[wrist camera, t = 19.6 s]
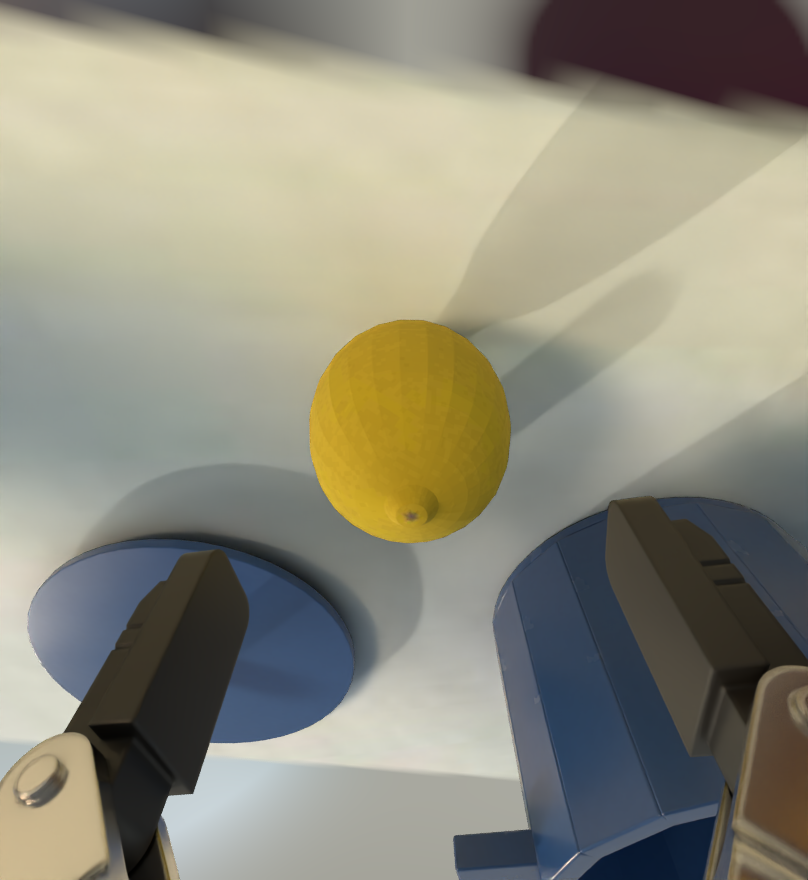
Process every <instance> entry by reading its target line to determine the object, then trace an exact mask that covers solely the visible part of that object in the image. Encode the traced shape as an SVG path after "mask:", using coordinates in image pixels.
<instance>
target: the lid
mask: <svg viewBox="0 0 808 880" xmlns="http://www.w3.org/2000/svg"><path fill="white" fill-rule="evenodd" d="M215 549H221V550H222V551H224V552H225V554H226V555H227V557H228V559H229V561H230V563H231V565H232V567H233V569H234V571H235V573H236V575H237V577H238V580H239V582H240V584H241V586H242V588H243V590H244V592H245V594H246V596H247V599H248V603H249V623H248V627H247V630H246V633H245V636H244V639H243V643H242V646H241V649H240V652H239V655H238V658H237V661H236V664H235V667H234V670H233V673H232V676H231V679H230V682H229V685H228V688H227V691H226V695H225V698H224V701H223V704H222V707H221V710H220V713H219V716H218V719H217V722H216V725H215V728H214V731H213V734H212V737H211V740H210V743H243V742H254V741H261V740H268V739H272V738H277V737H281V736H285V735H288V734H291V733H294V732H297V731H300V730H302V729H304V728H307V727H309V726H311V725H313V724H314V723H316V722H318V721H320V720H321V719H323V718H324V717H325V716H327V715H328V714H329V713H331V712H332V711H333V710H334V709H335V708H336V707H337V706H338V705H339V704H340V702H341V701H342V700H343V698H344V696H345V695H346V693H347V692H348V690H349V687H350V685H351V682H352V678H353V672H354V664H355V657H354V647H353V643H352V640H351V636H350V634H349V632H348V630H347V627H346V625H345V623H344V622H343V620H342V619H341V617H340V616H339V614H338V613H337V612H336V610H335V609H334V608H333V607H332V606H331V605H330V604H329V603H328V601H327V600H326V599H325V598H324V597H323V596H322V595H320V594H319V593H318V592H317V591H316V590H314V589H313V588H312V587H311V586H309V585H308V584H307V583H305V582H304V581H302V580H301V579H299V578H298V577H296V576H294V575H293V574H291V573H290V572H288V571H286V570H284V569H282V568H280V567H278V566H276V565H274V564H272V563H270V562H268V561H265V560H263V559H260V558H258V557H255V556H253V555H250V554H247V553H244V552H241V551H237V550H234V549H230V548H227V547H223V546H218V545H213V544H208V543H203V542H196V541H187V540H177V539H145V540H134V541H125V542H120V543H115V544H110V545H105V546H102V547H99V548H96V549H93V550H90V551H87V552H85V553H83V554H81V555H79V556H77V557H75V558H73V559H71V560H69V561H68V562H66V563H65V564H64V565H62V566H61V567H59V568H58V569H57V570H55V571H54V572H53V573H52V574H51V576H50V577H49V578H48V579H47V580H46V581H45V582H44V583H43V585H42V586H41V587H40V588H39V590H38V592H37V593H36V595H35V597H34V598H33V600H32V603H31V606H30V609H29V613H28V626H27V628H28V634H29V639H30V643H31V645H32V648H33V650H34V653H35V655H36V656H37V658H38V660H39V661H40V663H41V664H42V666H43V667H44V669H45V670H46V671H47V672H48V673H49V675H50V676H51V677H52V678H53V679H54V680H55V681H56V682H57V683H58V684H59V685H60V686H61V687H62V688H63V689H65V690H66V691H67V692H68V693H70V694H71V695H72V696H74V697H75V698H76V699H78V700H79V701H81V702H82V701H83V699H84V697H85V695H86V694H87V692H88V690H89V688H90V687H91V685H92V683H93V682H94V680H95V678H96V676H97V675H98V673H99V671H100V669H101V668H102V666H103V664H104V663H105V661H106V659H107V657H108V656H109V654H110V652H111V650H114V649H115V644H116V642H117V640H118V638H119V637H120V635H121V633H122V631H123V630H126V625H127V623H128V621H129V619H130V618H131V616H132V614H133V612H134V611H135V609H136V607H137V606H138V604H139V602H140V601H141V600H142V599H143V598H144V597H145V596H146V595H147V594H148V593H149V592H150V591H151V590H152V589H153V588H154V587H155V586H156V585H157V584H158V583H159V582H160V581H166V580H167V579H168V577H169V575H170V573H171V572H172V570H173V568H174V566H175V564H176V562H177V561H178V559H179V558H180V556H181V555H183V554H185V553H191V552H199V551H207V550H215Z"/></svg>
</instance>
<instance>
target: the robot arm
mask: <svg viewBox="0 0 808 880" xmlns="http://www.w3.org/2000/svg"><path fill="white" fill-rule="evenodd" d="M605 562H606V569H607V574H608V578H609V581H610V584H611V586H612V589H613V591H614V593H615V595H616V598H617V600H618V602H619V604H620V606H621V608H622V611H623V613H624V615H625V617H626V619H627V621H628V624H629V626H630V628H631V630H632V632H633V634H634V637H635V639H636V641H637V643H638V645H639V648H640V650H641V652H642V654H643V656H644V658H645V661H646V663H647V665H648V667H649V669H650V671H651V674H652V676H653V678H654V680H655V682H656V684H657V687H658V689H659V691H660V693H661V695H662V697H663V700H664V702H665V704H666V706H667V708H668V711H669V713H670V715H671V717H672V719H673V721H674V724H675V726H676V728H677V730H678V732H679V734H680V737H681V739H682V741H683V743H684V745H685V747H686V750H687V752H688V754H689V756H690V757H701V756H714V758H715V760H716V762H717V764H718V766H719V768H720V770H721V772H722V774H723V776H724V778H725V779H724V782H723V785H722V790H721V795H720V800H719V804H718V809H717V814H716V819H715V824H714V829H713V834H712V839H711V844H710V848H709V853H708V858H707V863H706V868H705V873H704V878H703V880H808V659H807V658H806V657H805V655H804V654H803V653H802V651H801V650H800V649H799V648H798V646H797V645H796V644H795V642H794V641H793V640H792V639H791V637H790V636H789V635H788V633H787V632H786V631H785V630H784V628H783V627H782V626H781V624H780V623H779V622H778V620H777V619H776V618H775V617H774V615H773V614H772V613H771V611H770V610H769V609H768V608H767V606H766V605H765V604H764V602H763V601H762V600H761V599H760V597H759V596H758V595H757V593H756V592H755V591H754V589H753V588H752V587H751V586H750V584H749V583H746V582H745V580H744V577H743V575H742V574H741V573H740V571H739V570H738V569H737V567H736V566H735V565H734V564H733V563H732V564H731V562H730V558H729V557H728V556H727V555H726V553H725V552H724V551H723V549H722V548H721V547H720V546H719V544H718V543H717V542H716V540H715V539H714V538H713V536H711V535H710V534H708V533H707V532H705V531H704V530H702V529H701V528H699V527H698V526H696V525H695V524H693V523H692V522H690V521H689V520H687V519H680V520H672V521H671V520H670V519H669V517H668V516H667V514H666V513H665V512H664V510H663V509H662V507H661V506H660V504H659V503H658V502H657V500H656V499H655V498H654V497H652V496H644V497H636V498H628V499H620V500H612V501H611V502H610V503H609V506H608V519H607V535H606V551H605ZM248 623H249V603H248V599H247V596H246V594H245V592H244V590H243V588H242V586H241V584H240V582H239V580H238V577H237V575H236V573H235V571H234V569H233V567H232V565H231V563H230V561H229V559H228V557H227V555H226V554H225V552H224V551H222V550H221V549H215V550H207V551H199V552H191V553H185V554H183V555H181V556H180V558H179V559H178V561H177V562H176V564H175V566H174V568H173V570H172V572H171V573H170V575H169V577H168V579H167V580H166V581H160V582H159V583H158V584H157V585H156V586H155V587H154V588H153V589H152V590H151V591H150V592H149V593H148V594H147V595H146V596H145V597H144V598H143V599H142V600H141V601H140V602H139V604H138V606H137V607H136V609H135V611H134V612H133V614H132V616H131V618H130V619H129V621H128V623H127V625H126V630H123V631H122V633H121V635H120V637H119V638H118V640H117V642H116V644H115V649H114V650H111V652H110V654H109V656H108V657H107V659H106V661H105V663H104V664H103V666H102V668H101V669H100V671H99V673H98V675H97V676H96V678H95V680H94V682H93V683H92V685H91V687H90V688H89V690H88V692H87V694H86V695H85V697H84V699H83V701H82V702H81V704H80V706H79V707H78V709H77V711H76V713H75V714H74V716H73V718H72V720H71V721H70V723H69V725H68V726H67V728H66V729H65V731H64V733H62V734H59V735H56V736H53V737H51V738H49V739H47V740H45V741H43V742H41V743H40V744H38V745H37V746H35V747H34V748H32V749H31V750H30V751H28V752H27V753H26V754H25V755H24V756H22V757H21V758H20V759H19V760H18V761H17V762H16V763H15V764H14V766H12V768H11V769H10V770H9V771H8V772H7V774H6V775H5V776H4V778H3V779H2V780H1V782H0V880H180V878H179V873H178V869H177V866H176V862H175V858H174V854H173V850H172V846H171V843H170V838H169V835H168V831H167V827H166V824H165V821H164V819H163V818H162V816H161V814H162V811H163V808H164V806H165V803H166V800H167V797H168V796H170V795H182V794H183V795H184V794H193V792H194V789H195V786H196V783H197V780H198V777H199V774H200V771H201V768H202V764H203V762H204V759H205V756H206V753H207V750H208V747H209V743H210V740H211V737H212V734H213V731H214V728H215V725H216V722H217V719H218V716H219V713H220V710H221V707H222V704H223V701H224V698H225V695H226V691H227V688H228V685H229V682H230V679H231V676H232V673H233V670H234V667H235V664H236V661H237V658H238V655H239V652H240V649H241V646H242V643H243V639H244V636H245V633H246V630H247V627H248Z"/></svg>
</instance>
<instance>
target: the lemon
mask: <svg viewBox="0 0 808 880" xmlns="http://www.w3.org/2000/svg"><path fill="white" fill-rule="evenodd" d="M309 422H310V451H311V457H312V461H313V465H314V468H315V471H316V474H317V477H318V480H319V484H320V486H321V488H322V490H323V492H324V493H325V495H326V496H327V498H328V499H329V501H330V502H331V504H332V505H333V507H334V508H335V509H336V510H337V511H338V512H339V513H340V514H341V515H342V516H343V517H344V518H345V519H347V520H348V521H349V522H350V523H351V524H352V525H354V526H356V527H357V528H359V529H361V530H363V531H365V532H366V533H368V534H370V535H372V536H375V537H379V538H382V539H385V540H388V541H393V542H402V543H418V542H428V541H432V540H435V539H439V538H443V537H446V536H448V535H450V534H452V533H454V532H456V531H458V530H460V529H462V528H463V527H465V526H466V525H468V524H469V523H470V522H471V521H473V520H474V519H475V518H476V517H478V516H479V515H480V514H481V513H482V511H483V510H484V509H485V508H486V506H487V505H488V504H489V502H490V501H491V500H492V498H493V497H494V496H495V495H496V493H497V490H498V488H499V485H500V483H501V481H502V478H503V476H504V473H505V471H506V468H507V463H508V456H509V446H510V434H511V423H510V416H509V411H508V406H507V401H506V397H505V393H504V389H503V387H502V385H501V383H500V381H499V379H498V377H497V375H496V373H495V372H494V370H493V368H492V366H491V364H490V363H489V361H488V360H487V358H486V357H485V356H484V355H483V354H482V353H481V352H480V351H479V350H478V349H477V348H476V347H475V346H474V345H473V344H472V343H471V342H470V341H469V340H468V339H466V338H464V337H463V336H461V335H459V334H457V333H456V332H454V331H452V330H451V329H449V328H447V327H445V326H442V325H438V324H434V323H431V322H427V321H424V320H397V321H393V322H388V323H384V324H379V325H377V326H375V327H373V328H371V329H369V330H367V331H365V332H363V333H361V334H359V335H357V336H355V337H354V338H353V339H352V340H351V341H350V342H349V343H348V344H347V345H345V346H344V347H343V348H342V349H341V350H340V351H339V352H338V353H337V354H336V355H335V356H334V358H333V359H332V361H331V363H330V364H329V366H328V367H327V369H326V370H325V372H324V374H323V375H322V377H321V378H320V381H319V383H318V386H317V389H316V393H315V396H314V399H313V403H312V406H311V411H310V419H309Z"/></svg>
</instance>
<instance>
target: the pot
mask: <svg viewBox="0 0 808 880" xmlns="http://www.w3.org/2000/svg"><path fill="white" fill-rule="evenodd" d="M656 500H657V502H658V503H659V504H660V506H661V507H662V509H663V510H664V512H665V513H666V514H667V516H668V517H669V519H670V520H671V521H672V520H680V519H687V520H689V521H690V522H692V523H693V524H695V525H696V526H698V527H699V528H701V529H702V530H704V531H705V532H707V533H708V534H710V535H711V536H713V538H714V539H715V540H716V542H717V543H718V544H719V546H720V547H721V548H722V549H723V551H724V552H725V553H726V555H727V556H728V557H729V558H730V562H731V564H732V563H733V564H734V565H735V566H736V567H737V569H738V570H739V571H740V573H741V574H742V575H743V577H744V580H745V582H746V583H749V584H750V586H751V587H752V588H753V589H754V591H755V592H756V593H757V595H758V596H759V597H760V599H761V600H762V601H763V602H764V604H765V605H766V606H767V608H768V609H769V610H770V611H771V613H772V614H773V615H774V617H775V618H776V619H777V620H778V622H779V623H780V624H781V626H782V627H783V628H784V630H785V631H786V632H787V633H788V635H789V636H790V637H791V639H792V640H793V641H794V642H795V644H796V645H797V646H798V648H799V649H800V650H801V651H802V653H803V654H804V655H805V657H806V658H807V659H808V550H807V549H806V548H805V547H804V546H803V545H802V544H801V543H800V542H799V541H797V540H796V539H795V538H793V537H792V536H790V535H789V534H788V533H787V532H786V531H785V530H783V529H782V528H781V527H780V526H779V525H778V524H777V523H775V522H774V521H773V520H771V519H770V518H768V517H766V516H765V515H763V514H761V513H759V512H757V511H755V510H752V509H750V508H747V507H745V506H742V505H739V504H735V503H731V502H727V501H723V500H716V499H708V498H699V497H674V498H663V499H656ZM607 519H608V510H606V511H604V512H601V513H599V514H596V515H593V516H591V517H588V518H586V519H584V520H582V521H580V522H578V523H576V524H574V525H572V526H570V527H568V528H566V529H564V530H562V531H561V532H559V533H557V534H556V535H554V536H553V537H551V538H549V539H548V540H546V541H545V542H544V543H543V544H541V545H540V546H539V547H537V548H536V549H535V550H534V551H532V552H531V553H530V554H529V555H528V556H527V557H526V558H525V559H524V560H523V561H522V562H521V563H520V564H519V565H518V566H517V567H516V569H515V570H514V571H513V573H512V574H511V575H510V577H509V578H508V579H507V581H506V583H505V585H504V586H503V588H502V590H501V592H500V594H499V597H498V600H497V602H496V605H495V610H494V616H493V632H494V637H495V643H496V651H497V657H498V663H499V668H500V674H501V679H502V685H503V690H504V696H505V701H506V707H507V712H508V718H509V723H510V729H511V734H512V740H513V745H514V751H515V756H516V762H517V767H518V773H519V778H520V784H521V789H522V794H523V800H524V805H525V811H526V816H527V822H528V827H529V830H518V831H517V830H516V831H504V832H492V833H480V834H467V835H456V836H454V838H453V841H454V856H455V868H456V872H457V875H458V877H459V880H703V878H704V873H705V868H706V863H707V858H708V853H709V848H710V844H711V839H712V834H713V829H714V824H715V819H716V814H717V809H718V804H719V800H720V795H721V790H722V785H723V782H724V779H725V778H724V776H723V774H722V772H721V770H720V768H719V766H718V764H717V762H716V760H715V758H714V756H701V757H690V756H689V754H688V752H687V750H686V747H685V745H684V743H683V741H682V739H681V737H680V734H679V732H678V730H677V728H676V726H675V724H674V721H673V719H672V717H671V715H670V713H669V711H668V708H667V706H666V704H665V702H664V700H663V697H662V695H661V693H660V691H659V689H658V687H657V684H656V682H655V680H654V678H653V676H652V674H651V671H650V669H649V667H648V665H647V663H646V661H645V658H644V656H643V654H642V652H641V650H640V648H639V645H638V643H637V641H636V639H635V637H634V634H633V632H632V630H631V628H630V626H629V624H628V621H627V619H626V617H625V615H624V613H623V611H622V608H621V606H620V604H619V602H618V600H617V598H616V595H615V593H614V591H613V589H612V586H611V584H610V581H609V578H608V574H607V569H606V562H605V551H606V535H607Z"/></svg>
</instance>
